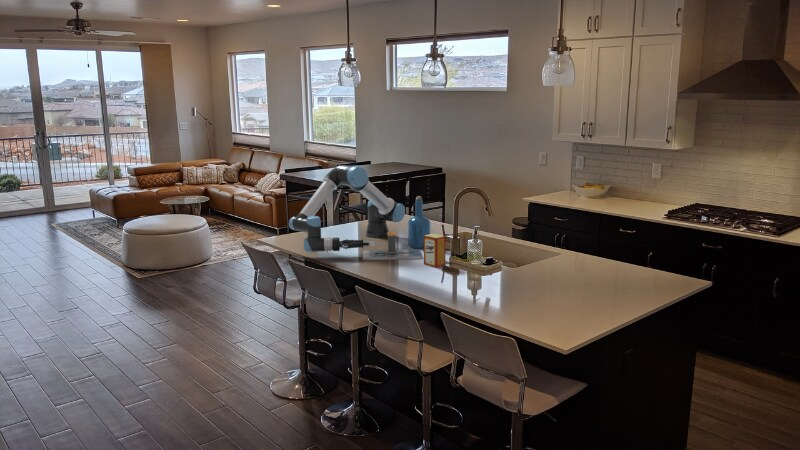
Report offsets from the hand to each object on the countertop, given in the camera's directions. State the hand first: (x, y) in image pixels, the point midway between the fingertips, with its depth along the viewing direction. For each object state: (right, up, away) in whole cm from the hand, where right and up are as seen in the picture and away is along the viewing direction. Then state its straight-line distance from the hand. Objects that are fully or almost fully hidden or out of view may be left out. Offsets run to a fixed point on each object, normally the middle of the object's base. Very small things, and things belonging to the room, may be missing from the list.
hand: (374, 243), depth 353 cm
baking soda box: (+32, -11, -18) cm, 38 cm away
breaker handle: (+9, -5, +2) cm, 11 cm away
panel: (+9, -7, +2) cm, 12 cm away
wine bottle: (+25, -3, +23) cm, 35 cm away
